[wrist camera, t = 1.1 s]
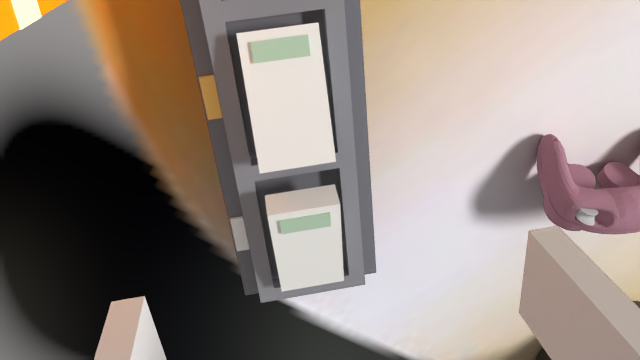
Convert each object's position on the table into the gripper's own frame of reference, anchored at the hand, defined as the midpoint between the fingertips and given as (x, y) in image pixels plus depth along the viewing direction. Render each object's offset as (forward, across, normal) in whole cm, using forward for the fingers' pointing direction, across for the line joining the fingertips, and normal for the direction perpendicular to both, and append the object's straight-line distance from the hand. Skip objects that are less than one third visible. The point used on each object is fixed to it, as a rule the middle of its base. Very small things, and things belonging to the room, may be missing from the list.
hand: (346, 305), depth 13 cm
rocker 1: (+16, 0, 0) cm, 16 cm away
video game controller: (+22, -22, +11) cm, 33 cm away
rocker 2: (+16, 0, +9) cm, 18 cm away
